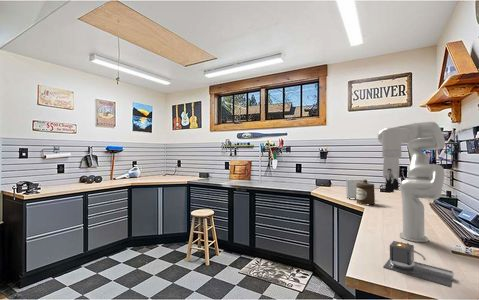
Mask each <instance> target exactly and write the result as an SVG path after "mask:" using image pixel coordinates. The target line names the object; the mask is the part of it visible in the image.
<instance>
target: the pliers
mask: <svg viewBox="0 0 479 300" xmlns="http://www.w3.org/2000/svg"><path fill="white" fill-rule="evenodd" d="M400 242H401V243H403V241H400ZM406 244H410V243H409V242H406ZM414 254H417V255H419V256H421V258H422V259H423V261H426V257H425V256H424V255H423V254H422V253H420V252H418V251H416V250H414Z"/></svg>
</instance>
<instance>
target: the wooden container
mask: <svg viewBox="0 0 479 300" xmlns="http://www.w3.org/2000/svg"><path fill="white" fill-rule="evenodd" d="M356 187H357V193H356V198H357V199H356V204H358V203H361V204H376V201H375V197H376V196H375V195H376V194H375V184H374V183H371V182H370V183H369V182H368V179H364V180H363V183H357V184H356ZM361 204H360V205H361Z"/></svg>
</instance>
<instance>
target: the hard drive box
mask: <svg viewBox="0 0 479 300" xmlns="http://www.w3.org/2000/svg"><path fill="white" fill-rule="evenodd" d="M363 180H365V179H362V178H346V179H345V182H346V183H345V185H346V187H345V188H346V198H347V197H348V198H356V193H357V187H356V184H357V183H363ZM348 198H347V199H348Z"/></svg>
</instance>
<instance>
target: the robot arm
mask: <svg viewBox="0 0 479 300" xmlns="http://www.w3.org/2000/svg"><path fill="white" fill-rule="evenodd" d="M377 140H378V142H379V143H380V144H381V146H382V151H381V152H382V158H383V162H382V163H383V166H382V167H383V168H382V177H383V179H385V184H384V185H385V187H384V188H385V192H386V193H394V192H395V191H399V189H400V194H401V200H402V202H401V203H402V204H401V205H402V206H401V207H402V232H400V233H398V234H399V237H400V238H401V239H403V240H406V241H410V242H416V243H426V242H428V241H429V237H427V236H426V235H425V233H426V232H425V206H424V204H423V202H422V200H421V199H424V200H426V199H427V200H438V199H440V198H441V196H442V193H443V186H444V181H445V169H444V167H443V166H442V165H440V164H436V163H430V158H429V156H428V155H427V154H426V153H425V152H424V151H425V150H426V151H429V150H430V151H432V150H434V151H435V150H436V151H437V150H442V149H444V147H445V145H446V139H445V136H444V134H443V131H442V129H441V127H440V125H439V124H438V123H437V122H435V121H425V122H424V121H423V122H414V123H413V122H412V123H409V124H405V125H399V126H395V127H386V128H383V129H381V130H379V132H378V133H377ZM402 144H407V145H406V146H407V150H408V152H409V156H410V162H409V165H408V170H407V177H408V178H407V179H404V180H402V181H401V182H400V186H399V177H400V158H402Z"/></svg>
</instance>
